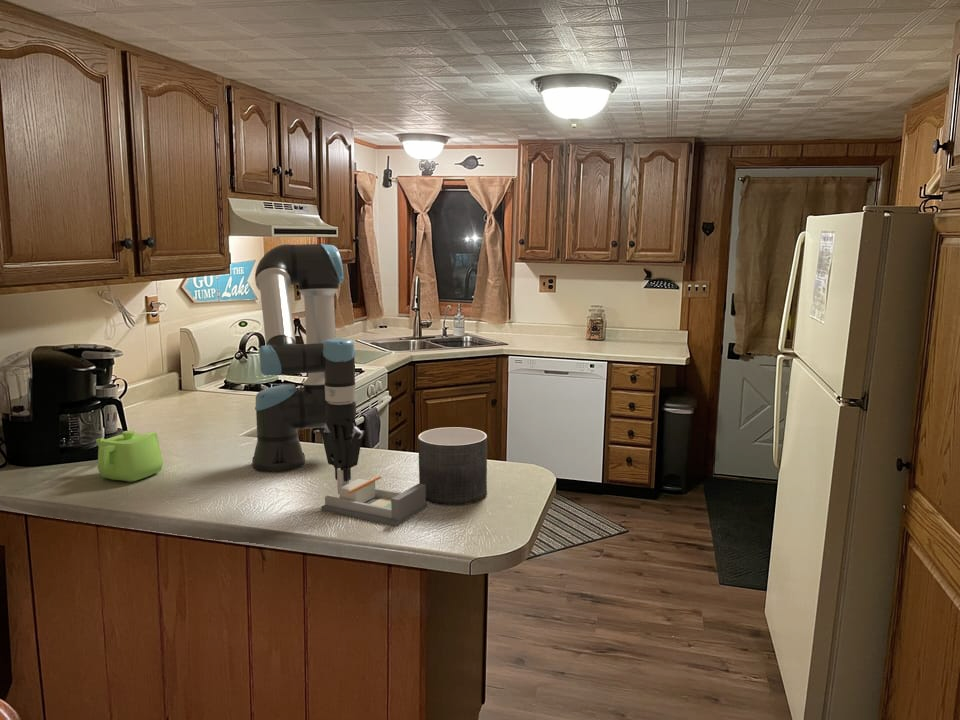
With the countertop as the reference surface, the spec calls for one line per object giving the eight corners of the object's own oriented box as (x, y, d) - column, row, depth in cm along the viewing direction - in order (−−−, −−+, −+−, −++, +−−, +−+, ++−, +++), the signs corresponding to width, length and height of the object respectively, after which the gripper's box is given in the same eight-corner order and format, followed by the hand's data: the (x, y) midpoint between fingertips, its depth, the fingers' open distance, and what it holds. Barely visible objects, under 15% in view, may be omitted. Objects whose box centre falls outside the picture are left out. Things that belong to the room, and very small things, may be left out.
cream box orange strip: (330, 505, 178) (329, 487, 177) (362, 489, 189) (361, 473, 188) (350, 510, 175) (349, 491, 174) (381, 493, 186) (380, 476, 185)
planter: (437, 479, 201) (436, 424, 199) (497, 487, 195) (497, 431, 192) (406, 500, 185) (405, 440, 183) (470, 510, 178) (470, 448, 176)
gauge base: (321, 510, 178) (321, 486, 177) (356, 492, 191) (355, 470, 190) (396, 526, 168) (396, 501, 167) (427, 506, 181) (427, 483, 180)
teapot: (71, 482, 199) (66, 436, 197) (129, 462, 218) (125, 420, 215) (123, 490, 193) (119, 443, 191) (177, 468, 211) (174, 425, 209)
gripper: (310, 401, 179) (313, 493, 183) (352, 407, 173) (355, 501, 177) (329, 396, 186) (332, 484, 189) (370, 401, 180) (373, 492, 183)
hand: (343, 492), depth 183 cm, fingers closed
